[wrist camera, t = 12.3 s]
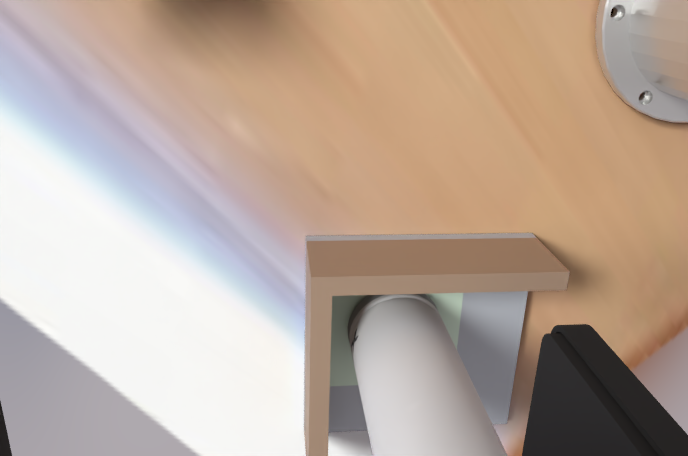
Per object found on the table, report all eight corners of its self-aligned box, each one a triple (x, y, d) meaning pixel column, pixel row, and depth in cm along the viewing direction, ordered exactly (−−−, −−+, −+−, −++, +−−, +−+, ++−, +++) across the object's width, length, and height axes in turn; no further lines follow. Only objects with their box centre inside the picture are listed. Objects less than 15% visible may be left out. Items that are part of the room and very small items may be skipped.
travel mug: (323, 329, 42) (365, 612, 24) (399, 265, 41) (503, 513, 23) (384, 382, 45) (464, 679, 26) (457, 324, 43) (595, 592, 25)
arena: (531, 232, 42) (569, 271, 37) (503, 416, 48) (532, 473, 43) (305, 235, 41) (311, 277, 35) (303, 425, 46) (308, 486, 41)
